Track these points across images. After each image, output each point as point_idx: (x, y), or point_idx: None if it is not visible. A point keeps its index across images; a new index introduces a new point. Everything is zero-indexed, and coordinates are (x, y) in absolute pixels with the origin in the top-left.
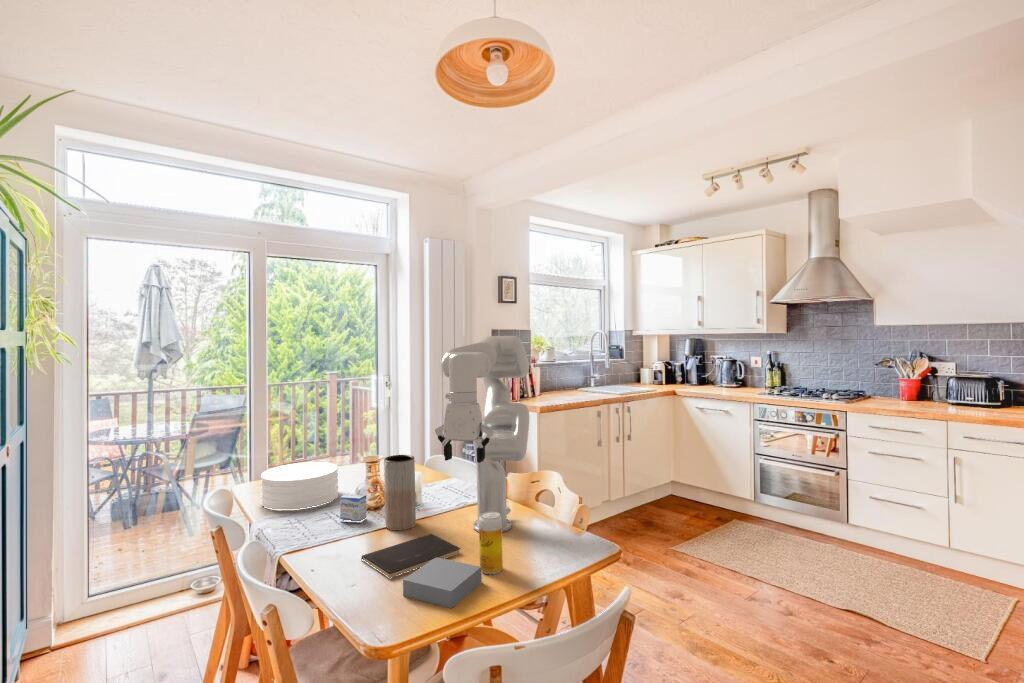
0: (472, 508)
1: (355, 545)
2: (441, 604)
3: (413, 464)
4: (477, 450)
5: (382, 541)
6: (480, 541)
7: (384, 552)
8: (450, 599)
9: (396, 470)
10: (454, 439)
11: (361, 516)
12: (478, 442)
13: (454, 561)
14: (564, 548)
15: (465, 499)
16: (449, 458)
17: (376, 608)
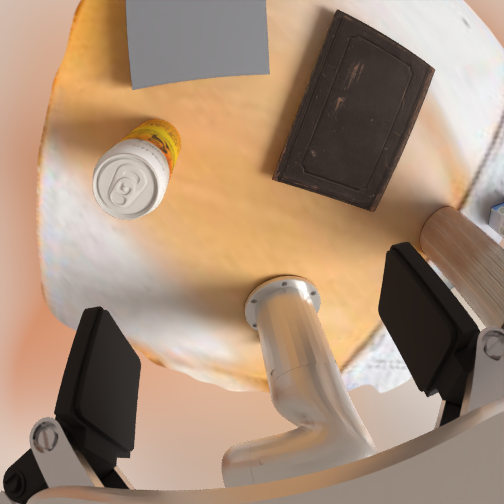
0: (354, 340)
1: (468, 127)
2: None
3: (491, 323)
4: (72, 393)
5: (441, 158)
6: (156, 134)
7: (408, 92)
8: None
9: None
10: (393, 464)
11: (497, 215)
12: (57, 470)
13: (210, 76)
14: (107, 292)
15: (378, 354)
16: (385, 283)
17: None
